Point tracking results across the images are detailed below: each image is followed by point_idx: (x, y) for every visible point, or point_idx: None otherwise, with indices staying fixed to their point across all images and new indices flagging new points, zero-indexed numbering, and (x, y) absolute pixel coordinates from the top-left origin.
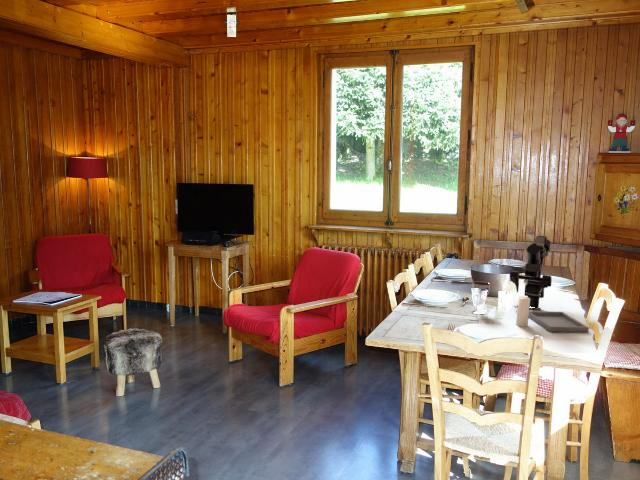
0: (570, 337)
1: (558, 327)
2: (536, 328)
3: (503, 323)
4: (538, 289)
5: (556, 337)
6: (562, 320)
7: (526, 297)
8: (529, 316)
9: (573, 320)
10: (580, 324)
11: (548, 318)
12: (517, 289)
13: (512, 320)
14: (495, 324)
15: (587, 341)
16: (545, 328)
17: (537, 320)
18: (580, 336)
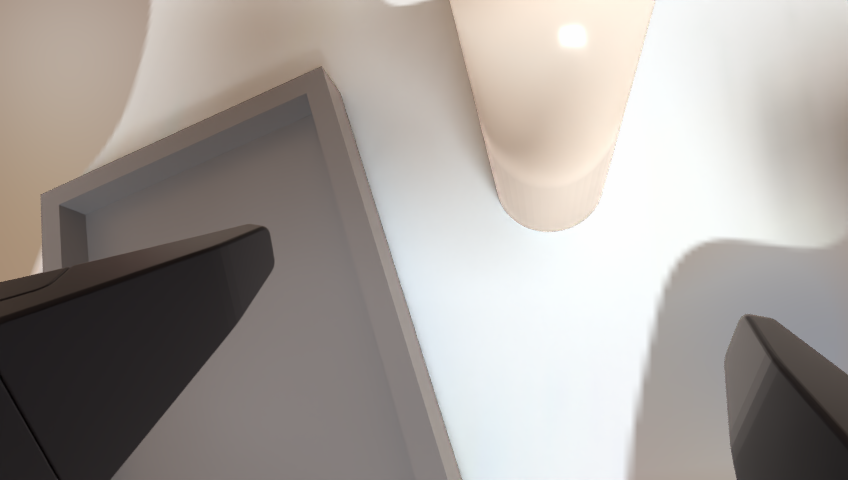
0: (228, 55)
1: (260, 97)
2: (426, 147)
3: (734, 162)
4: (171, 258)
5: (317, 11)
6: (154, 443)
7: (510, 15)
8: (455, 472)
9: None
10: (66, 264)
11: (265, 471)
12: (778, 342)
13: (646, 311)
14: (815, 94)
15: (154, 30)
16: (355, 149)
17: (392, 282)
18: (159, 106)
